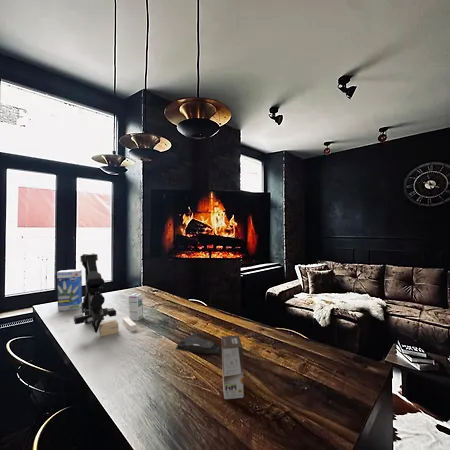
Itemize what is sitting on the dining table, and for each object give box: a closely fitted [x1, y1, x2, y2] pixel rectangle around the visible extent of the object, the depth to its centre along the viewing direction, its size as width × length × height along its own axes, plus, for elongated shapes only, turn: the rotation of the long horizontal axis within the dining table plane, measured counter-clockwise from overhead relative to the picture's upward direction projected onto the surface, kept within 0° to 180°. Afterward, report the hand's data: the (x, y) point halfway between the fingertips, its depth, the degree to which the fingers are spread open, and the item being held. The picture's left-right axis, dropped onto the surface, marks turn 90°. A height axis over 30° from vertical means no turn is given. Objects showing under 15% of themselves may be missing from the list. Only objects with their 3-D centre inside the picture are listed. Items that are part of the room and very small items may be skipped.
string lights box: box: [56, 269, 83, 311], centre depth 176 cm, size 13×8×26 cm, turn 104°
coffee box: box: [221, 335, 245, 400], centre depth 85 cm, size 9×6×16 cm
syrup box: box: [128, 292, 144, 321], centre depth 153 cm, size 6×6×14 cm
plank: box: [122, 316, 137, 333], centre depth 141 cm, size 14×3×3 cm, turn 37°
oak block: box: [98, 319, 119, 337], centre depth 134 cm, size 6×8×5 cm
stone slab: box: [175, 331, 222, 355], centre depth 116 cm, size 22×16×5 cm
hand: (96, 332), depth 131 cm, fingers closed
